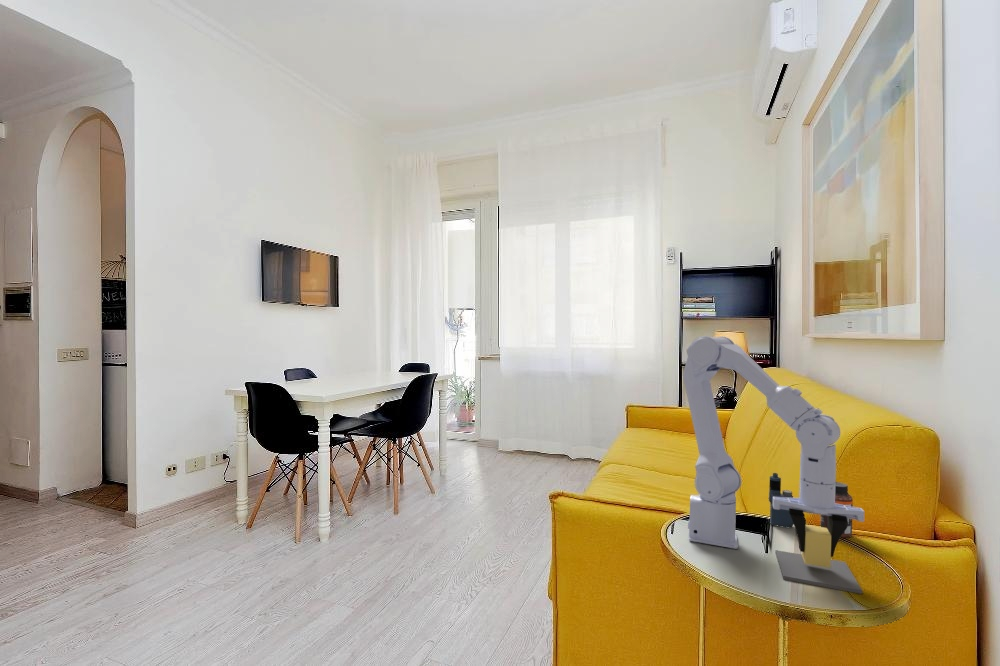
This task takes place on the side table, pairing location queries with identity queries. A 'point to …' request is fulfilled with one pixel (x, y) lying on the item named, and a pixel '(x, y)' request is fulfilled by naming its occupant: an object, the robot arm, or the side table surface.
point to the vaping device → (781, 515)
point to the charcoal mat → (817, 572)
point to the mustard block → (817, 546)
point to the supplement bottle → (843, 499)
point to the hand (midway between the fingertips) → (815, 552)
